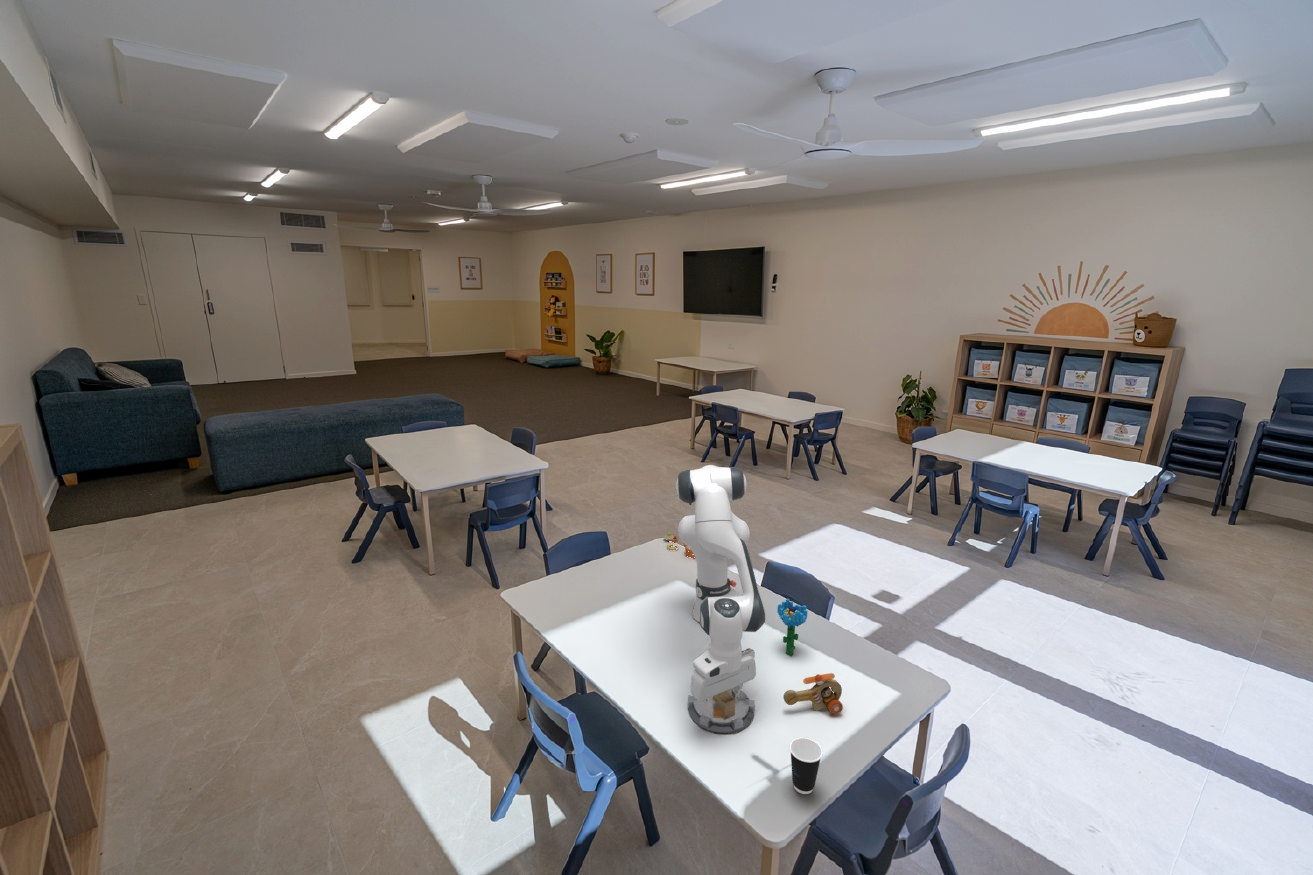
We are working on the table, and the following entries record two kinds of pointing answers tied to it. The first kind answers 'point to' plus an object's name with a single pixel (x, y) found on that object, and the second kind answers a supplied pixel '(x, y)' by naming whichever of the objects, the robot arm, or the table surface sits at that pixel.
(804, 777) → the dixie cup
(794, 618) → the toy flower
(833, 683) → the toy helicopter
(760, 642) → the table surface
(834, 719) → the table surface
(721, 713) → the wooden block
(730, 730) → the sprocket base
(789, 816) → the table surface
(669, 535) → the toy tea set
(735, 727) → the sprocket
